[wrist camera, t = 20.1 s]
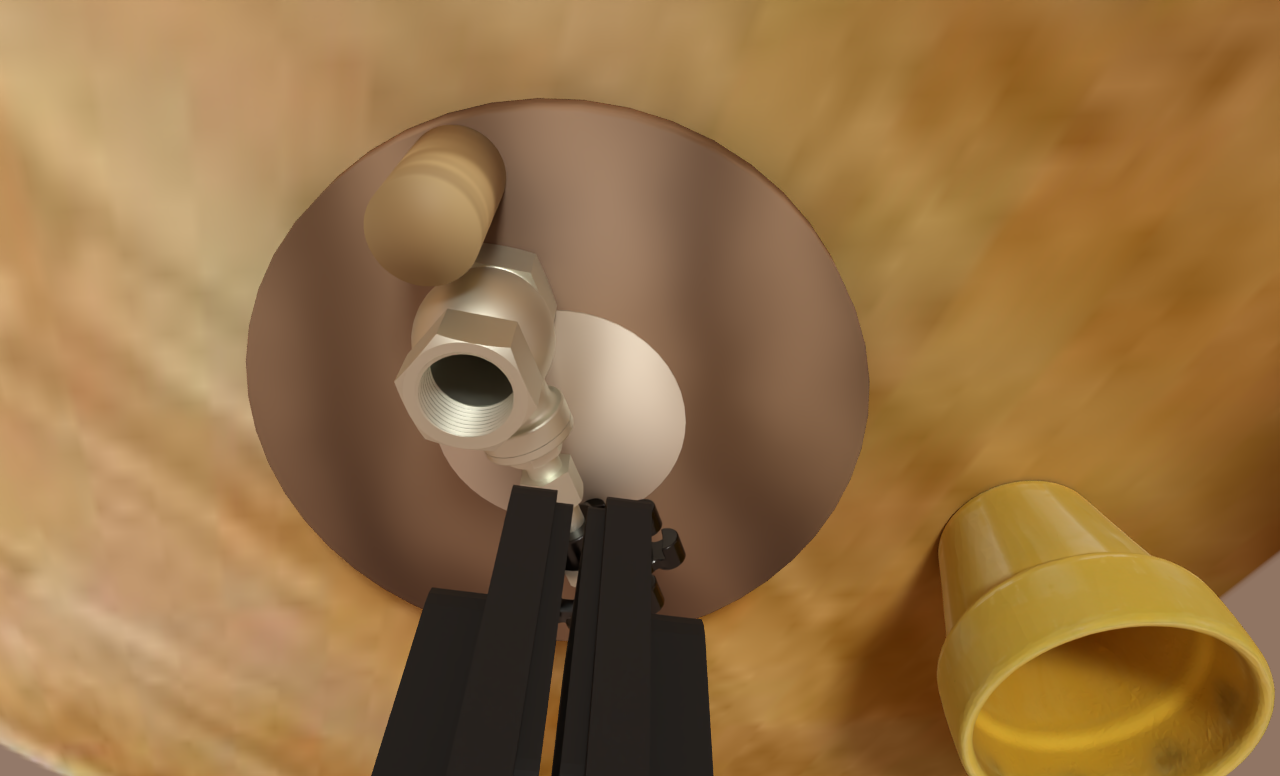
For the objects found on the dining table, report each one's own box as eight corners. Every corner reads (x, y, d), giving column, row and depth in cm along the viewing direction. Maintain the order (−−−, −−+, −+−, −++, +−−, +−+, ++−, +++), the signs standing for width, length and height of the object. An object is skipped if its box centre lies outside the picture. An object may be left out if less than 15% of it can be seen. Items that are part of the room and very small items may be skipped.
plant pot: (840, 552, 38) (896, 745, 30) (1034, 395, 34) (1161, 569, 26) (994, 659, 42) (1082, 860, 33) (1187, 527, 38) (1342, 719, 29)
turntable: (792, 3, 26) (834, 44, 20) (899, 550, 37) (946, 676, 31) (141, 209, 29) (21, 293, 24) (414, 656, 40) (377, 787, 35)
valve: (380, 264, 29) (519, 538, 34) (315, 365, 23) (495, 672, 29) (572, 204, 28) (682, 496, 33) (554, 293, 22) (690, 627, 28)
